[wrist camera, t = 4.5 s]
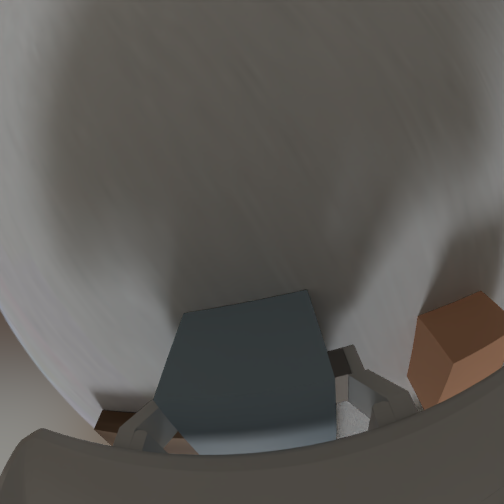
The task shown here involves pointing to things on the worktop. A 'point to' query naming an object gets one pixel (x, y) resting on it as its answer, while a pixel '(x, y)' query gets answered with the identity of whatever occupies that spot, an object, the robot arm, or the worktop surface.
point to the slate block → (250, 378)
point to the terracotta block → (456, 348)
